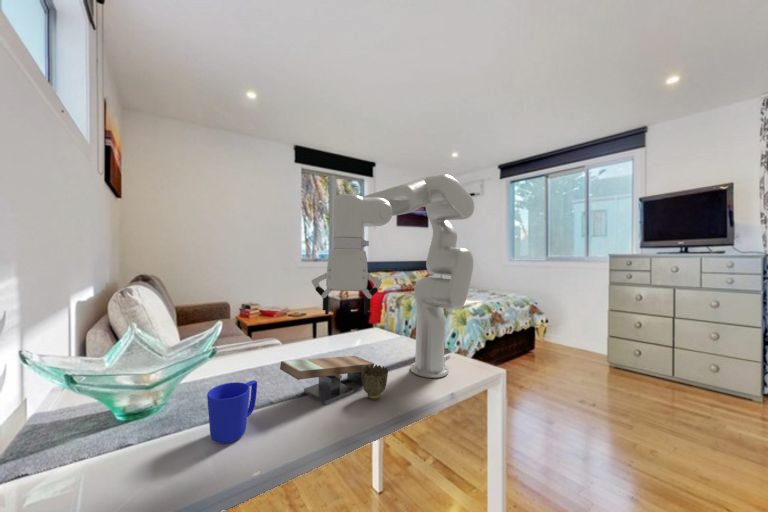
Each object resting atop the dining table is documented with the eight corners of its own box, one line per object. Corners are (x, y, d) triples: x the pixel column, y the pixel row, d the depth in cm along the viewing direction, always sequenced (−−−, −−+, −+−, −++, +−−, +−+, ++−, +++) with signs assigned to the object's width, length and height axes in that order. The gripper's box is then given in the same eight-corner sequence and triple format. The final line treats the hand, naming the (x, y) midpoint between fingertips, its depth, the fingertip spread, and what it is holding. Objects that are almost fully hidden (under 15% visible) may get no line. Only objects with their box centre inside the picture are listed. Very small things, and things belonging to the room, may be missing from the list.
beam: (352, 364, 102) (353, 355, 102) (373, 374, 95) (375, 363, 95) (278, 372, 84) (280, 360, 84) (298, 384, 77) (300, 371, 77)
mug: (269, 421, 75) (269, 378, 74) (228, 452, 63) (229, 402, 63) (241, 414, 77) (241, 373, 77) (197, 442, 66) (197, 395, 65)
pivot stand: (351, 375, 102) (351, 359, 102) (373, 385, 95) (373, 367, 95) (303, 392, 89) (304, 373, 89) (324, 405, 83) (325, 385, 82)
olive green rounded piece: (384, 406, 83) (385, 376, 82) (357, 402, 84) (357, 373, 84) (389, 393, 90) (390, 365, 90) (364, 390, 91) (365, 363, 91)
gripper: (381, 245, 83) (380, 310, 84) (314, 244, 82) (313, 310, 83) (383, 245, 76) (382, 317, 76) (310, 244, 74) (309, 316, 75)
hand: (346, 313), depth 79 cm, fingers open, 9 cm apart
